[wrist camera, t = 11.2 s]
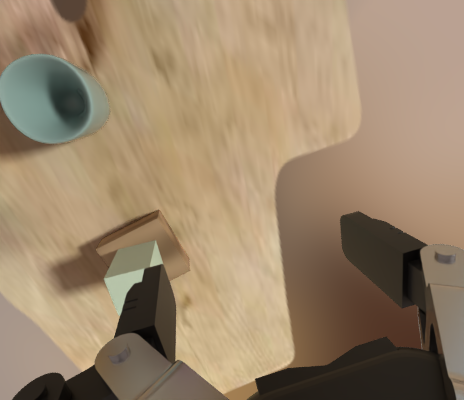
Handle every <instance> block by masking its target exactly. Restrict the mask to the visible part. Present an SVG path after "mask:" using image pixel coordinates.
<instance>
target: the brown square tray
mask: <svg viewBox="0 0 464 400" xmlns="http://www.w3.org/2000/svg"><path fill="white" fill-rule="evenodd" d="M154 240H156V243H157V246H158V249H159V252H160V255H161V258H162V262H163V265H164V267H165V270H166V273H167V276H168V279H169V281H171V280H173V279H175V278H177V277H178V276H180V275H182V274H184V273H186V272H188V271H190V264H189V257H188V256H187V254H186V252H185V251H184V249H183V247H182V246H181V244H180V242H179V241H178V239H177V238H176V236H175V234H174V233H173V231H172V229H171V228H170V226H169V224H168V223H167V221H166V219H165V218H164V216H163V215H162V213H161V211H160V210H158V211H156V212H154V213H152V214H150V215H148V216H146V217H144V218H142V219H140V220H138V221H136V222H134V223H132V224H130V225H128V226H126V227H124V228H122V229H120V230H118V231H116V232H114V233H112V234H110V235H108V236H107V237H105V238H103V239H102V240H101V242H100V243H99V245H98V247H97V248H96V251H97V253H98V254H99V255H100V257H101V258H102V259H103V261H104V262H105V263H106V265H107V266H108V267H110V265H111V263H112V261H113V259H114V257H115V255H116V253H117V251H118V249H122V248H126V247H130V246H134V245H138V244H142V243H146V242H150V241H154Z"/></svg>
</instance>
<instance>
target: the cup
mask: <svg viewBox="0 0 464 400" xmlns="http://www.w3.org/2000/svg"><path fill="white" fill-rule="evenodd" d="M0 103H1V106H2V108H3V110H4V112H5V114H6V116H7V117H8V119H9V120H10V121H11V123H12V124H13V125H14V126H15V127H16V128H17V129H18V130H19V131H20V132H21V133H23V134H24V135H25V136H27V137H28V138H30V139H32V140H34V141H38V142H41V143H46V144H61V143H68V142H72V141H76V140H80V139H83V138H86V137H89V136H91V135H93V134H95V133H97V132H98V131H99V130H101V129H102V128H103V127H104V126H105V124H106V123H107V121H108V119H109V115H110V104H109V99H108V97H107V94H106V92H105V90H104V88H103V87H102V85H101V84H100V83H99V82H98V80H97V79H96V78H95V77H93V76H92V75H91V74H90V73H89V72H87V71H86V70H84V69H82V68H81V67H79V66H77V65H76V64H74V63H72V62H70V61H67V60H65V59H63V58H60V57H57V56H54V55H48V54H31V55H27V56H23V57H21V58H19V59H17V60H15V61H13V62H12V63H11V64H9V65H8V66H7V67H6V68H5V70H4V71H3V72H2V74H1V76H0Z"/></svg>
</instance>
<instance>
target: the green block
mask: <svg viewBox="0 0 464 400" xmlns="http://www.w3.org/2000/svg"><path fill="white" fill-rule="evenodd" d="M159 264H163V262H162V258H161V255H160V252H159V249H158V246H157V243H156V240H154V241H150V242H146V243H142V244H138V245H134V246H130V247H126V248H122V249H118V251H117V253H116V255H115V257H114V259H113V261H112V263H111V265H110V267H109V269H108V271H107V273H106V275H105V277H104V281H105V283H106V286H107V288H108V291H109V293H110V296H111V298H112V301H113V303H114V306H115V308H116V311H117V313H118V316H119V315H121V312H122V308H123V304H124V301H125V297H126V294H127V292H128V291H129V290H130V288H131V287H132V286H133V284H135V283H138V282H142V277H143V273H144V269H145V268H148V267H152V266H156V265H159Z"/></svg>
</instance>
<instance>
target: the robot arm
mask: <svg viewBox="0 0 464 400" xmlns="http://www.w3.org/2000/svg"><path fill="white" fill-rule="evenodd" d="M340 223H341V224H340V225H341V237H342V238H341V239H342V249H343V252H344V254H345V256H346V258H347V259H348V260H349V261H350V262H351V263H352V264H353V265H354V266H356V267H357V268H358V269H359V270H360V271H361V272H362V273H363V274H364V275H366V276H367V277H368V278H369V279H370V280H371V281H372V282H373V283H374V284H376V285H377V286H378V287H379V288H380V289H381V290H382V291H383V292H385V293H386V294H387V295H388V296H389V297H390V298H391V299H392V300H393V301H395V303H397V304H398V305H399V306H400V307H401V308H405V307H408V306H411V305H417V306H418V320H419V328H420V336H421V344H422V349H417V348H409V347H395V346H394V345H393V344H392V342H391V341H390V340H389V339H388V338H387V337H383V338H380V339H377V340H374V341H371V342H368V343H365V344H362V345H359V346H355V347H354V348H352V349H351V350H349V351H348V352H346V353H345V354H344V355H342V356H340V357H339V358H337V359H336V360H335V361H333V362H332V363H330V364H328V365H325V366H312V367H298V368H287V369H284V370H281V371H278V372H275V373H272V374H269V375H266V376H262V377H259V378H256V379H255V380H256V385H257V389H258V392H256V393H255V394H253V395H252V396H251V397H249V398H248V399H247V400H464V250H463V249H460V248H458V247H455V246H451V245H444V244H435V245H434V244H433V245H426V244H425V243H423V242H421V241H419V240H418V239H416V238H414V237H412V236H410V235H408V234H407V233H403V231H401V230H399V229H398V228H395V227H394V226H392V225H390V224H389V223H387V222H384V221H381V220H377V219H372V218H370V217H368V216H367V215H365V214H363V213H361V212H359V211H358V212H354V213H350V214H346V215H343V216H341V219H340ZM175 346H176V303H175V298H174V294H173V291H172V288H171V285H170V282H169V279H168V276H167V273H166V270H165V267H164V265H163V264H159V265H156V266H152V267H148V268H145V269H144V273H143V277H142V282H138V283H135V284H133V286H132V287H131V288H130V290H129V291H128V292H127V294H126V297H125V301H124V304H123V308H122V312H121V315H120V319H119V322H118V326H117V329H116V333H115V336H114V339H112V340H111V341H109V342H108V343H107V344H106V345H105V346H104V347H103V348H102V349H101V350H100V351H99V353H98V354H97V357H96V359H95V365H93V366H92V367H90V368H89V369H87V370H85V371H83V372H81V373H80V374H78V375H76V376H75V377H72V378H71V379H69V380H67V381H65V379H64V378H63V376H62V375H61V374H59V373H48V374H45V375H43V376H40V377H38V378H36V379H35V380H33V381H31V382H30V383H29V384H27V385H26V386H25V387H24V388H22V389H21V390H20V391H19V392H18V393H17V394H16V396H15V397H14V398H13V399H12V400H229V399H228V398H227V397H225V396H224V395H223V394H222V393H220V392H219V391H218V390H217V389H216V388H214V387H213V386H212V385H211V384H209V383H208V382H207V381H206V380H205V379H203V378H202V377H201V376H200V375H198V374H197V373H196V372H195V371H194V370H192V369H191V368H190V367H189V366H187V365H186V364H185V363H184V362H182V361H180V360H177V361H176V362H175Z"/></svg>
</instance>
